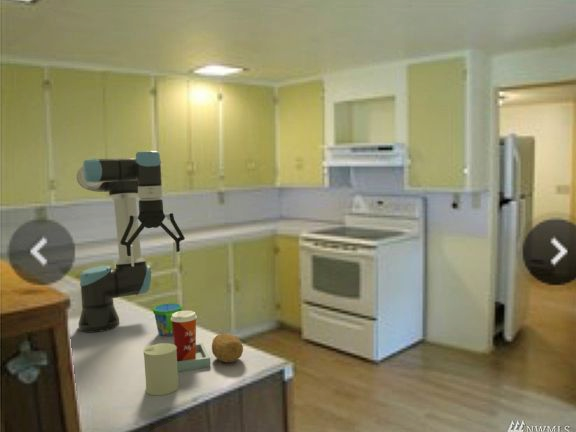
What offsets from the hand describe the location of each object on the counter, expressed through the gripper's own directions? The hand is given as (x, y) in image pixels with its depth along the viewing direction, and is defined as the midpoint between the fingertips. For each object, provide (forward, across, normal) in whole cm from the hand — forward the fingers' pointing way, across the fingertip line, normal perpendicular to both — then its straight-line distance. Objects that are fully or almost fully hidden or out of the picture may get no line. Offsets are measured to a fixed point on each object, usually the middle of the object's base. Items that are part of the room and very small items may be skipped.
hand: (154, 263), depth 167 cm
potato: (+31, +20, -14) cm, 39 cm away
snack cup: (+31, +5, +20) cm, 37 cm away
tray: (+31, +8, -10) cm, 33 cm away
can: (+31, -2, -27) cm, 41 cm away
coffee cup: (+30, +8, -10) cm, 33 cm away
